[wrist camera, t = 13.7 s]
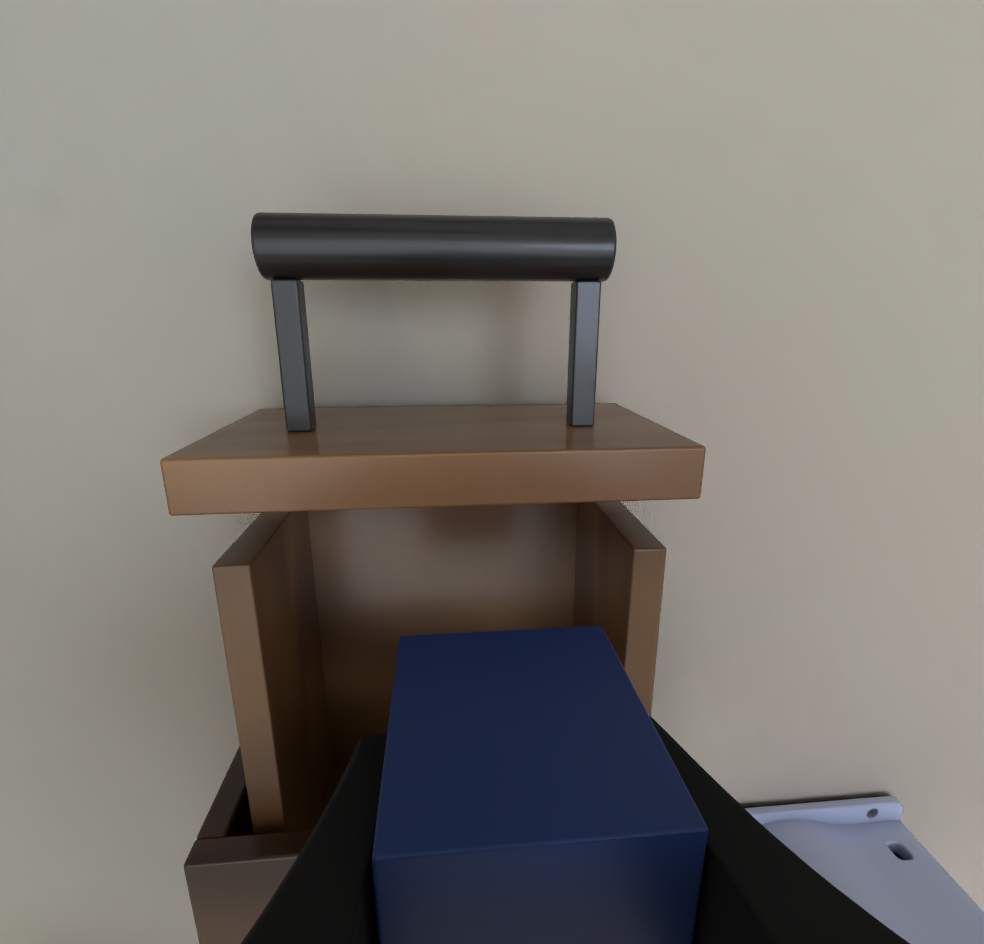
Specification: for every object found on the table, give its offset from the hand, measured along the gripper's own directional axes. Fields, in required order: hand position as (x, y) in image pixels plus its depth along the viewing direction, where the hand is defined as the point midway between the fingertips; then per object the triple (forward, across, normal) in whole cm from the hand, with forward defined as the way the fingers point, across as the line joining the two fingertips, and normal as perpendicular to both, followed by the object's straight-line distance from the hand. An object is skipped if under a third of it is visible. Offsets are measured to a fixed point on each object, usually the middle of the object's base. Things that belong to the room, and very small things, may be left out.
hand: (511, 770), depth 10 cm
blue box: (+1, 0, 0) cm, 1 cm away
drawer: (+9, +1, -1) cm, 9 cm away
